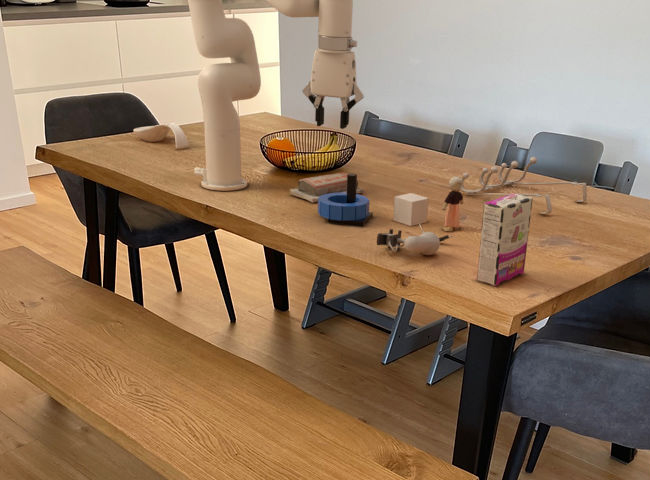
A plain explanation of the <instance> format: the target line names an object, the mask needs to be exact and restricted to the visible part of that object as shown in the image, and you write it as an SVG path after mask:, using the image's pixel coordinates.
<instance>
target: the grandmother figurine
mask: <svg viewBox="0 0 650 480" xmlns="http://www.w3.org/2000/svg"><path fill="white" fill-rule="evenodd" d="M462 183H463V184H464V182H463V181H462V177H459V176H456V175H455V176H453V177H452V178H449V181H448V185H449V188H450V191H449V192H448V194H447V195H446V198H445V199H444V201H443V204H442V207H441V210H442V211H446V213H445V217H444V224H443V227H442V230H443V231H444V232H453V231H455V230H459V229H460V226H461V221H460V220H461V217H460V216H461V215H460V213H461V212H460V205H461V206H463V205H464V203H465V202H464V197H463V194H462V192H460V190H461V185H462Z"/></svg>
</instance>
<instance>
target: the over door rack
mask: <svg viewBox="0 0 650 480" xmlns="http://www.w3.org/2000/svg"><path fill="white" fill-rule="evenodd" d="M537 162H538V158H537V157H535V156H532V157H530V159H529V162H528V163H527V164H526V166H525V167H524V170H523V172H522V174H521V177H519V178H518V179H516V180H508V177H510V176H509V175H510V173H511V171H512V170H513V169H516V168H517V167H518V166H519V162H518V161H517V160H513V161H511V163H510V167H509V168H508V169H507V170H506V172H505V174H504V177H503V172H504V170H505V169H506V168H507V167H508V164H507V163H506V162H502V164H501V166H500V167H501V168H500V170H499V168H498V167H497V166H496V165H492V166H491V167H490V172H489V168H488V167H487V166H485V167H483V168H482V172H481V174H480V175H479V183H480V185H481V186H482V187H480V188H477V189H474V190H473V189H467V188H465V186H464V182H465V180H466V179H468V178H469V177H470V174H469V173H468V172H463V174H462V177H461V179H462V181H463V183H462V185H461V189H460V190H461V191H462V192H464V193H466V194H467V195H468V196H507V195H511V194H512V193H508V192H507V193H506V192H505V193H503V192H501V193H500V192H499V193H498V192H497V193H494V192H485V191H488V190H491V189H495V188H500V187H504V186H540V185H541V186H543V185H545V186H546V185H571V186H578V185H579V186H580V185H581V186H582V199H579V200H575V202H576V203H585V202H587V200H588V190H587V189H588V188H587V183H586V182H578V181H556V182H555V181H553V182H552V181H551V182H549V181H548V182H521V181H522V180H524V178H525V177H526V175H527V172H528V170H529V169H530V167H531V166H532V165H535V164H537ZM498 170H499V171H498ZM488 172H489V173H488ZM497 173H498V175H497V176H498V179H499V181H500V183H497V184H489V181H490V178H491V176H492V175H493V174H497ZM486 174H487V175H486ZM485 175H486V177H485V180H484V176H485ZM518 194H519V195H525V196H528V197H533V198H541V197H545V202H546V209H547V210H546V211H541V212H540V215H548V214H551V213H552V212H553V210H552V209H553V207H552V200H551V196H550V194H549V193H547V194H542V195H541V193H518Z"/></svg>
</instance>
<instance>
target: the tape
mask: <svg viewBox="0 0 650 480" xmlns="http://www.w3.org/2000/svg"><path fill="white" fill-rule="evenodd" d="M346 195H347V193H329V194H324V195H321V196H320V197H319V198H318V201H317V214H318V216H320V217H322V218H325V219H327V220H328V219H331V220H339V221H342V220H343V221H353V220H359V219H364V218H366V217H367V216H368V215H369V212H370V199H369V198H368V197H367V196H365V195H361V194H360V193H359V194H356V202H355V203H347V204H346Z"/></svg>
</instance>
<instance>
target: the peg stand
mask: <svg viewBox="0 0 650 480" xmlns="http://www.w3.org/2000/svg"><path fill="white" fill-rule="evenodd" d="M357 181H358V174H357V173H355V172H354V173H353V172H352V173H349V174H347V195H346V204H347V203H355V202H356V189H357V188H358V187H357ZM373 218H374V212H371V211H369V215H368V216H367V217H366V218H364V219H359V220H353V221H343V220H342V221H339V220H331V219H327V223H330V224H336V225H337V224H338V225H344V226H345V225H346V226H352V227H361V228H363V227H364V226H365V225H366V224H367V223H368V222H370V220H371V219H373Z"/></svg>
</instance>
